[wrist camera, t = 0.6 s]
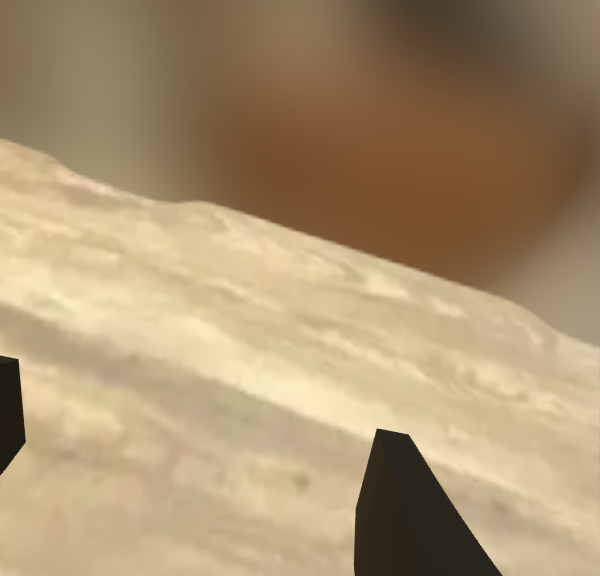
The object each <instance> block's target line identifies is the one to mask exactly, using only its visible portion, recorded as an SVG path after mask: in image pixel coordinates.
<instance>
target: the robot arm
mask: <svg viewBox="0 0 600 576" xmlns="http://www.w3.org/2000/svg"><path fill="white" fill-rule="evenodd" d="M25 442H26V439H25V428H24V416H23V405H22V394H21V382H20V371H19V360H18V359H15V358H10V357H5V356H0V475H1V474H2V473H3V472H4V470H5V469H6V468H7V467H8V465H9V464H10V463H11V461H12V460H13V458H14V457H15V456H16V454H17V453H18V452H19V450H20V449H21V448H22V446H23V445H24V444H25ZM354 572H355V576H502V574H501V573H500V572H499V570H498V569H497V568H496V566H495V565H494V564H493V562H492V561H491V559H490V558H489V557H488V555H487V554H486V552H485V551H484V550H483V548H482V547H481V545H480V544H479V542H478V541H477V539H476V538H475V537H474V535H473V534H472V532H471V531H470V529H469V528H468V526H467V525H466V523H465V522H464V520H463V519H462V517H461V516H460V514H459V513H458V512H457V510H456V509H455V507H454V505H453V504H452V502H451V501H450V499H449V498H448V496H447V495H446V493H445V492H444V490H443V488H442V487H441V485H440V484H439V482H438V481H437V479H436V477H435V476H434V474H433V473H432V471H431V469H430V468H429V466H428V465H427V463H426V461H425V460H424V458H423V456H422V455H421V453H420V452H419V450H418V448H417V447H416V445H415V444H414V442H413V440H412V439H411V437H410V436H409V435H408V434H403V433H398V432H393V431H388V430H383V429H377V430H376V434H375V438H374V441H373V445H372V449H371V453H370V457H369V460H368V464H367V468H366V472H365V476H364V479H363V483H362V487H361V491H360V495H359V498H358V502H357V506H356V517H355V545H354Z"/></svg>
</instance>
